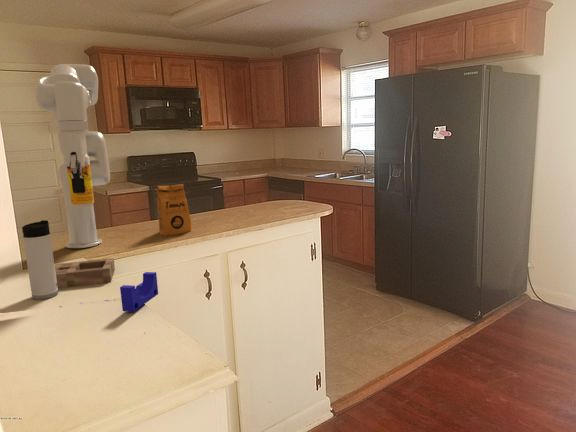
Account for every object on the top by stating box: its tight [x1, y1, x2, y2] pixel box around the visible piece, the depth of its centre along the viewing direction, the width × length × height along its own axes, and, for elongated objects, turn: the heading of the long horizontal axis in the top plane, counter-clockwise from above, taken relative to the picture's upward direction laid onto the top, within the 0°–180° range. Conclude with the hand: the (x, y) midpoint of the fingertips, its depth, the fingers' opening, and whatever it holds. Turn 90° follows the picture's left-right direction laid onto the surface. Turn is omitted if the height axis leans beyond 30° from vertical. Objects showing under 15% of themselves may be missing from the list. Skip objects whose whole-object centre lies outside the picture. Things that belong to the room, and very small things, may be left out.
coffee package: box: [156, 183, 193, 237], centre depth 182 cm, size 10×12×22 cm
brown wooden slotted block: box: [54, 257, 116, 289], centre depth 134 cm, size 12×17×4 cm
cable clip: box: [119, 271, 159, 313], centre depth 114 cm, size 12×4×6 cm, turn 168°
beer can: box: [67, 153, 95, 207], centre depth 130 cm, size 6×6×15 cm
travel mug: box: [21, 219, 59, 301], centre depth 120 cm, size 6×7×20 cm
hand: (81, 190), depth 131 cm, fingers closed on beer can, 6 cm apart
